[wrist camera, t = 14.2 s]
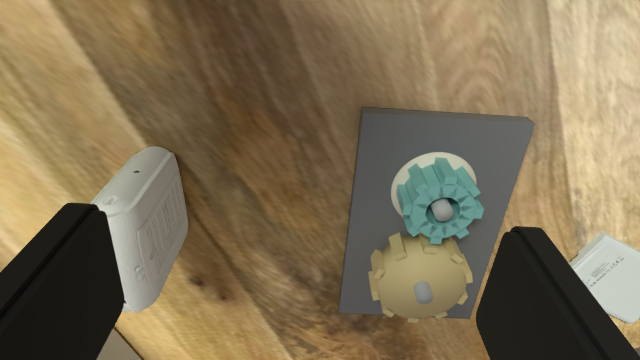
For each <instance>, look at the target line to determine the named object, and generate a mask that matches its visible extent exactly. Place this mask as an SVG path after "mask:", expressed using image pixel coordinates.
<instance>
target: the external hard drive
mask: <svg viewBox="0 0 640 360" xmlns="http://www.w3.org/2000/svg"><path fill="white" fill-rule="evenodd" d="M568 263H569V265H570V266H571V267H572V268H573V270H574V271H575V272H576V274H577V275H578V276H579V278H580V279H581V280H582V282H583V283H584V284H585V285H586V287H587V288H588V289H589V291H590V292H591V293H592V295H593V296H594V297H595V299H596V300H597V301H598V303H599V304H600V305H601V306H602V308H603V309H604V310H605V312H606V313H607V314H609V315H611V316H614V317H616V318H618V319H620V320H622V321H624V322H627V323H629V324H631V323H633V322H635V321H636V320H638V319H639V318H640V250H638V249H636V248H634V247H632V246H630V245H628V244H626V243H625V242H623V241H621V240H619V239H617V238H615V237H613V236H611V235H609V234H607V233H605V232H604V231H600V232H599V233H598V234H597V235H596V236H595V237H594V238H593V239H592V240H591V241H590V242H589V243H587V244H586V245H585V246H584V247H583V248H582V249H581V250H580V251H579V252H578V255H577V256H576V257H575V258H574V259H573V260H572V261H570V262H568Z"/></svg>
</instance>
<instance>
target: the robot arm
mask: <svg viewBox="0 0 640 360" xmlns="http://www.w3.org/2000/svg"><path fill="white" fill-rule="evenodd" d="M123 306H124V292H123V288H122V283H121V278H120V274H119V269H118V265H117V260H116V256H115V251H114V246H113V242H112V237H111V233H110V228H109V224H108V219H107V215H106V213H105V212H104V211H100V210H99V208H98V206H97V205H95V204H85V203H67V204H66V205H64V206H63V207H62V208H61V209H60V210H59V211H58V212H57V214H56V215H55V216H54V217H53V218H52V219H51V220H50V221H49V222H48V223H47V224H46V225H45V226H44V227H43V228H42V229H41V230H40V231H39V232H38V234H37V235H36V236H35V237H34V238H33V239H32V240H31V241H30V242H29V243H28V244H27V245H26V246H25V247H24V248H23V249H22V250H21V251H20V252H19V253H18V255H17V256H16V257H15V258H14V259H13V260H12V261H11V262H10V263H9V264H8V265H7V266H6V267H5V268H4V269H3V270H2V271H1V272H0V360H96V359H97V358H98V356H99V354H100V352H101V350H102V348H103V346H104V344H105V342H106V341H107V339H108V337H109V335H110V333H111V331H112V329H113V327H114V325H115V323H116V322H117V320H118V318H119V316H120V314H121V312H122V310H123ZM476 323H477V327H478V330H479V333H480V335H481V338H482V340H483V342H484V345H485V347H486V350H487V352H488V355H489V357H490V360H640V356H639V355H638V354H637V352H636V351H635V350H634V348H633V347H632V346H631V344H630V343H629V342H628V340H627V339H626V338H625V337H624V335H623V334H622V333H621V331H620V330H619V329H618V327H617V326H616V325H615V323H614V322H613V321H612V320H611V318H610V317H609V316H608V314H607V313H606V312H605V310H604V309H603V308H602V306H601V305H600V304H599V303H598V301H597V300H596V299H595V297H594V296H593V295H592V293H591V292H590V291H589V289H588V288H587V287H586V285H585V284H584V283H583V282H582V280H581V279H580V278H579V276H578V275H577V274H576V272H575V271H574V270H573V268H572V267H571V266H570V265H569V263H568V262H567V261H566V259H565V258H564V257H563V255H562V254H561V253H560V251H559V250H558V249H557V248H556V246H555V245H554V244H553V242H552V241H551V240H550V238H549V237H548V236H547V234H546V233H545V232H544V231H543V230H542V229H541V228H538V227H520V226H515V227H513V228H512V229H511V231H510V232H505V233H504V235H503V237H502V239H501V242H500V245H499V248H498V251H497V254H496V257H495V260H494V263H493V266H492V269H491V272H490V275H489V277H488V280H487V283H486V286H485V289H484V292H483V295H482V298H481V301H480V304H479V307H478V310H477V313H476Z"/></svg>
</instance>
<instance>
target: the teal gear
mask: <svg viewBox="0 0 640 360" xmlns="http://www.w3.org/2000/svg"><path fill="white" fill-rule="evenodd" d="M407 170H408V172H409V175H410V178H409V179H408V180H407V181H406V183H405V185H402V184H397V190H396V195H397V199H398V202H399V205H400V209H401V212H402V215H403V219H404V222H405V225H406V229H407V231H408V232H409V233H410V234H411V235H412V236H413V237H414V236H416V235H417V234H419V233H422V234H424V235H425V236H427V237H428V240H429V243H430V244H441V241H442V238H447V237H449V236H452V235H455V234H456V235H457V236H458V238H459V239H461V238H462V237H464V236H466V235H467V234H469V231H468V229H467V226H468V225H469V224H470V223H471V222H472V220H473V218H478V219H481V218H482V214H483V211H484V208H483V207H482V205H481V203H480V202H479V200H478V198H477V197H476V196H477V195H479V194H480V193H481V192H480V190H479V189H478V187H477V186H476V184H475V183H474V181H473V179H472V178H471V176H470V175H469V173H468V172H467V171H466V169H465V168H464V167H463V166H461V167H459V168H458V169H456V170H455V169H453V168H452V167H451V165H450V163H449V162H448V160H447V158H438V157H435V161H434V164H432V165H431V164H430V165H428V166H425V167H423V168H420V167H419V165H418V164H417V163H416V164H414V165H413V166H411V167H410V168H409V169H407ZM441 197H447V199H448V201H449V203H450V206H451V208H452V210H453V216H452V217H451V218H450V219H449V220H447V221H438V220H437V219H436V218H435V216H434V213H433V211H432V208H431V206H430V203H431V202H432V201H434V200H436V199H439V198H441Z"/></svg>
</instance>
